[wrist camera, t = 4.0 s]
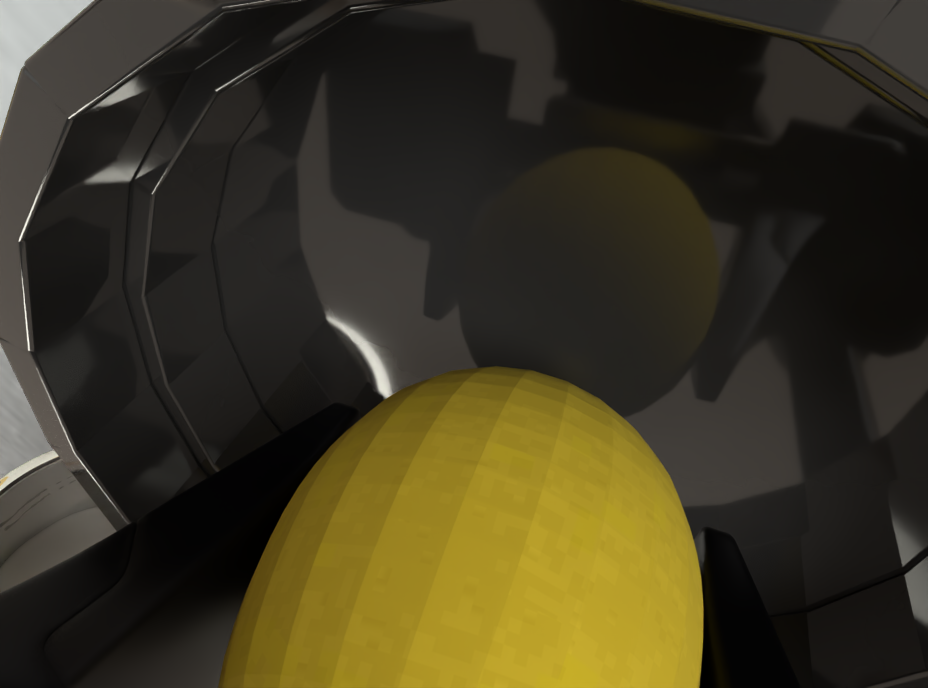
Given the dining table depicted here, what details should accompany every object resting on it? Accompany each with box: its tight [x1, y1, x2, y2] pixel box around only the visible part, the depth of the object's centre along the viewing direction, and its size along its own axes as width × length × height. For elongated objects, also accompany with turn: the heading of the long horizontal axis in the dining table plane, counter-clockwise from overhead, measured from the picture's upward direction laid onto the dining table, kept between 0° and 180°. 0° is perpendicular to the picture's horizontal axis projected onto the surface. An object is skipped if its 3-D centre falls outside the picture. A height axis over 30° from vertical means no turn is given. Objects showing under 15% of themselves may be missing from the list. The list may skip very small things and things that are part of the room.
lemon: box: [218, 366, 704, 688], centre depth 8 cm, size 6×6×8 cm
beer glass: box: [0, 450, 117, 593], centre depth 19 cm, size 7×7×15 cm
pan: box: [0, 0, 928, 688], centre depth 10 cm, size 15×15×4 cm
